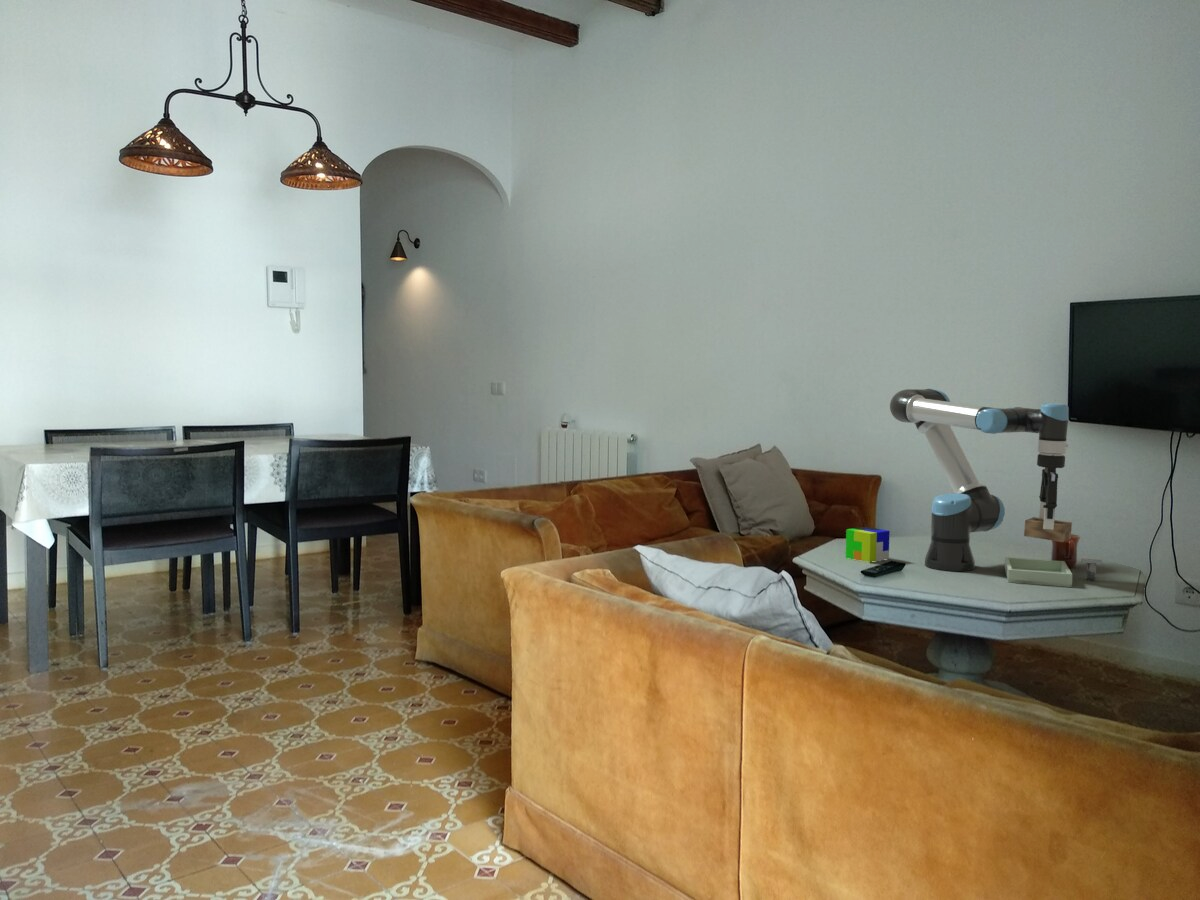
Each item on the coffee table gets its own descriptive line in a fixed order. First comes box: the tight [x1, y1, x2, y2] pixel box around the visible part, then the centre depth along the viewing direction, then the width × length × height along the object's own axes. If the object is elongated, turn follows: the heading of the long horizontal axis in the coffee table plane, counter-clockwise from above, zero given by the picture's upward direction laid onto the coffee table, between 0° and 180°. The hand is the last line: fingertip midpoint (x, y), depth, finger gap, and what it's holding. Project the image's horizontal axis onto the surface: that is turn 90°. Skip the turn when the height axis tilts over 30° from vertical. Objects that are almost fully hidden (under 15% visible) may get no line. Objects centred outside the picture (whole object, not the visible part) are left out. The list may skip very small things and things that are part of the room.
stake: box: [1080, 557, 1103, 582], centre depth 263 cm, size 5×2×7 cm, turn 68°
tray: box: [1004, 556, 1073, 588], centre depth 267 cm, size 17×20×4 cm
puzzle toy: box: [845, 526, 891, 562], centre depth 295 cm, size 10×10×10 cm
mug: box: [1050, 533, 1081, 569], centre depth 281 cm, size 12×9×10 cm
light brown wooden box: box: [1023, 516, 1073, 542], centre depth 267 cm, size 11×8×5 cm
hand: (1045, 526), depth 267 cm, fingers closed on light brown wooden box, 10 cm apart
